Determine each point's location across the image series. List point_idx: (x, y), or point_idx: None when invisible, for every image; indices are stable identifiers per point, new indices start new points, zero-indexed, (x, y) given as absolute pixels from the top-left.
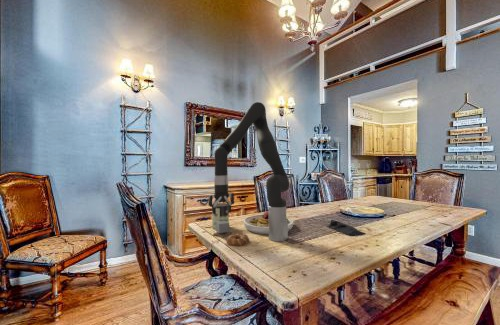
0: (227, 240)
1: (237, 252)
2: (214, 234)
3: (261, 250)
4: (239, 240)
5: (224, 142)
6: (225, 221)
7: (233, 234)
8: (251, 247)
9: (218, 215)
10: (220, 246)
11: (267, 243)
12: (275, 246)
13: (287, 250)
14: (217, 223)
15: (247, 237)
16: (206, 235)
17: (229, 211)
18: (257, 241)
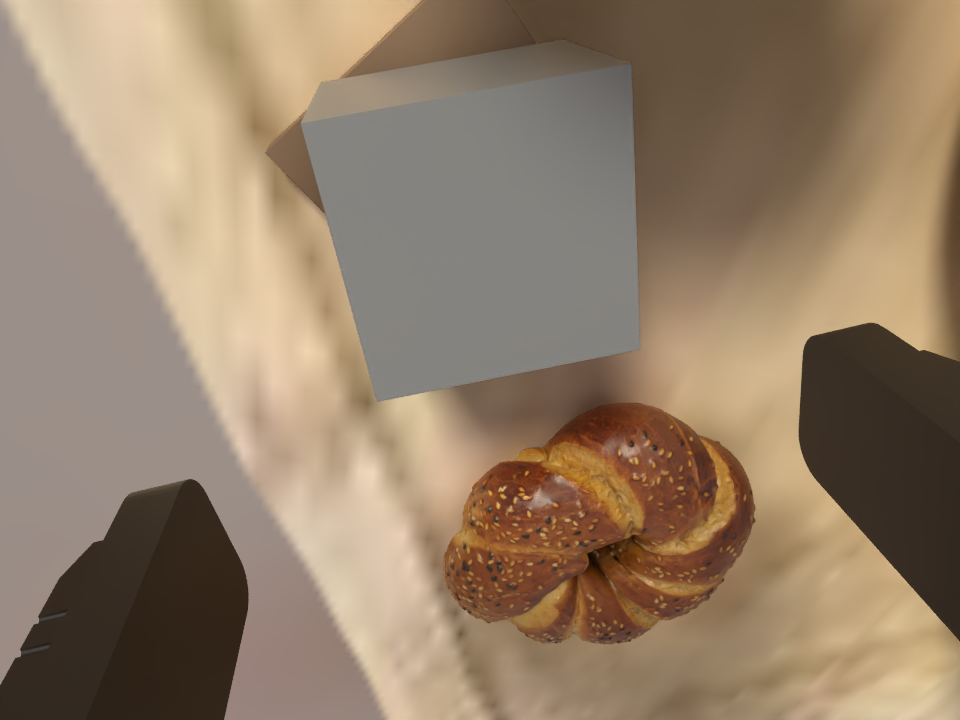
0: (454, 594)
1: (500, 710)
2: (291, 176)
3: (714, 698)
4: (589, 640)
5: None
6: (591, 202)
7: (577, 526)
8: (667, 642)
9: None
10: (356, 584)
11: (863, 586)
12: (875, 649)
13: (896, 715)
14: (345, 276)
15: (720, 580)
16: (119, 102)
17: (834, 483)
18: (810, 527)
